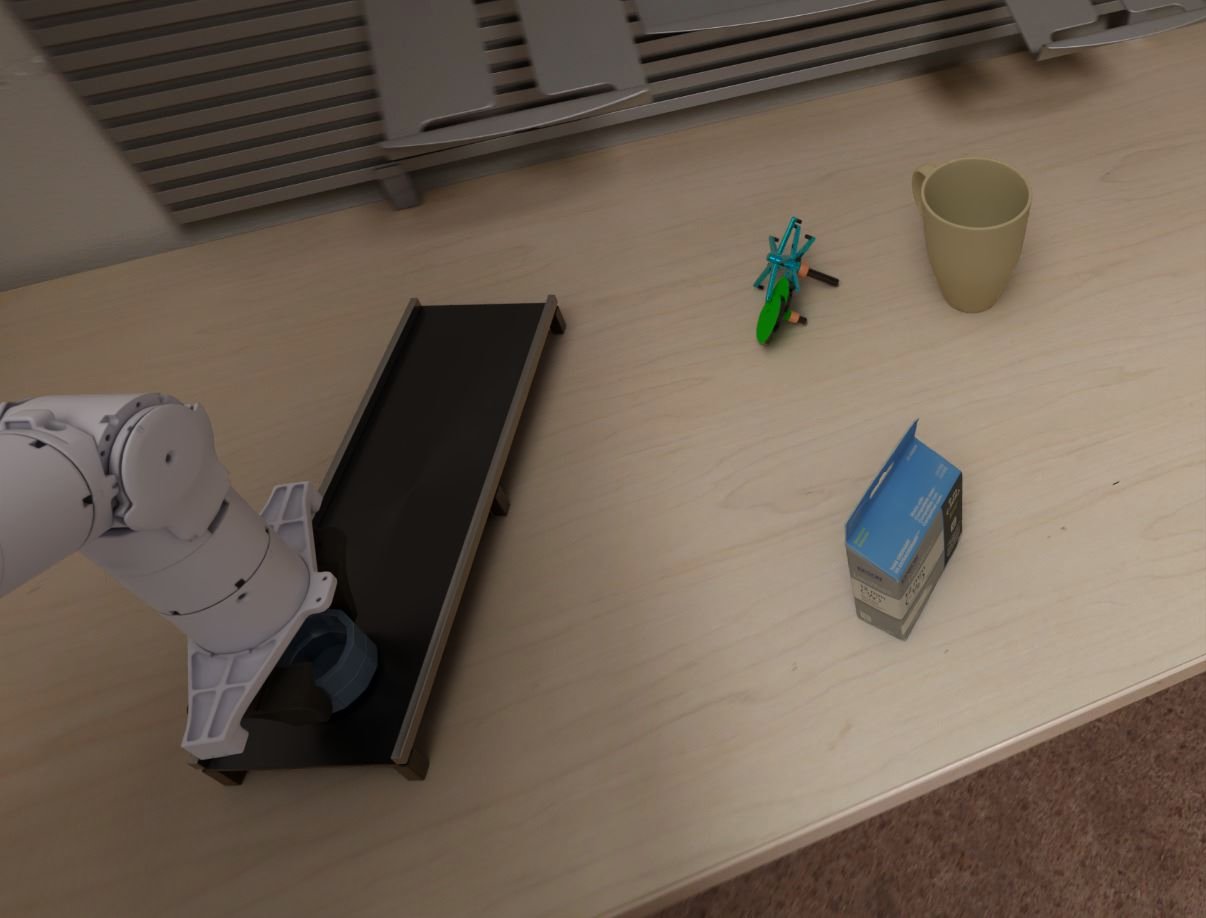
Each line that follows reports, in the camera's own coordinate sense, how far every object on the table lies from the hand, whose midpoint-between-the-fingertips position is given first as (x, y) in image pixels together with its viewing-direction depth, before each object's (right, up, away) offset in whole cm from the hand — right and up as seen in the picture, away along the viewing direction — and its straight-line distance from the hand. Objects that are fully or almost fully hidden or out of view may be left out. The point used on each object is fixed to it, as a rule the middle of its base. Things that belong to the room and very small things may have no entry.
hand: (326, 668), depth 57 cm
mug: (+40, +22, +28) cm, 54 cm away
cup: (0, -1, +1) cm, 1 cm away
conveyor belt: (0, +6, +12) cm, 14 cm away
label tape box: (+35, +3, +8) cm, 36 cm away
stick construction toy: (+25, +20, +27) cm, 42 cm away
